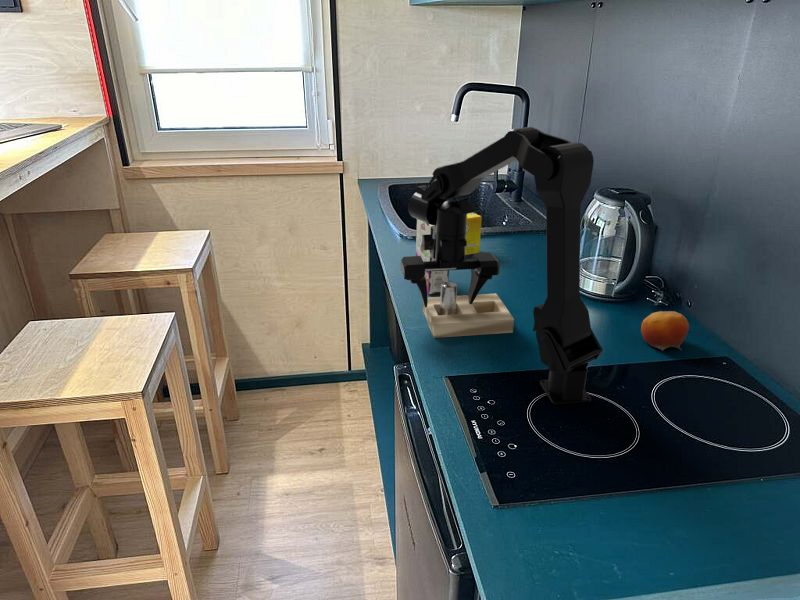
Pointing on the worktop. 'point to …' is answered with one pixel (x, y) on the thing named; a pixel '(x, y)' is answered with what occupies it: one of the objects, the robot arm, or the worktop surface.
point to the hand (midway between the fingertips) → (447, 304)
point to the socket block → (469, 317)
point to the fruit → (665, 329)
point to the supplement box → (473, 234)
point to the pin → (448, 298)
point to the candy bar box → (429, 259)
